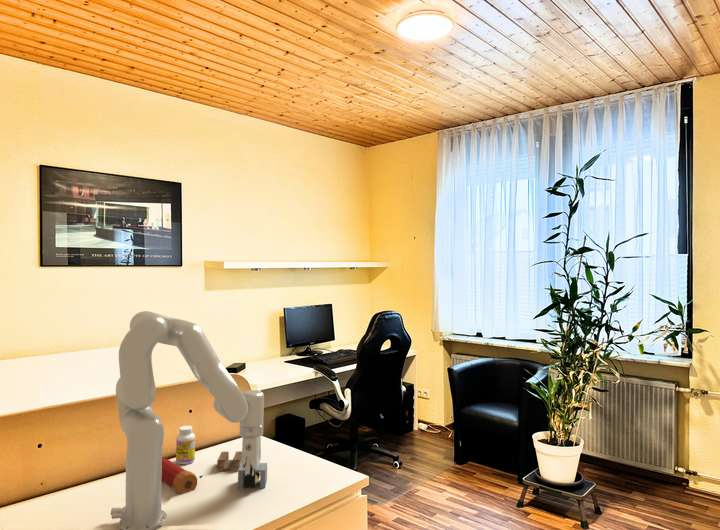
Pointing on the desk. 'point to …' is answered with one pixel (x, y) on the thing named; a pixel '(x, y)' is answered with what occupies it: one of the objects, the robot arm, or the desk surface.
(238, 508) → the desk surface
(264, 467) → the grey hollow block
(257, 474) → the axle
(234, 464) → the v block
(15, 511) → the desk surface
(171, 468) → the shell casing
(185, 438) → the supplement bottle
